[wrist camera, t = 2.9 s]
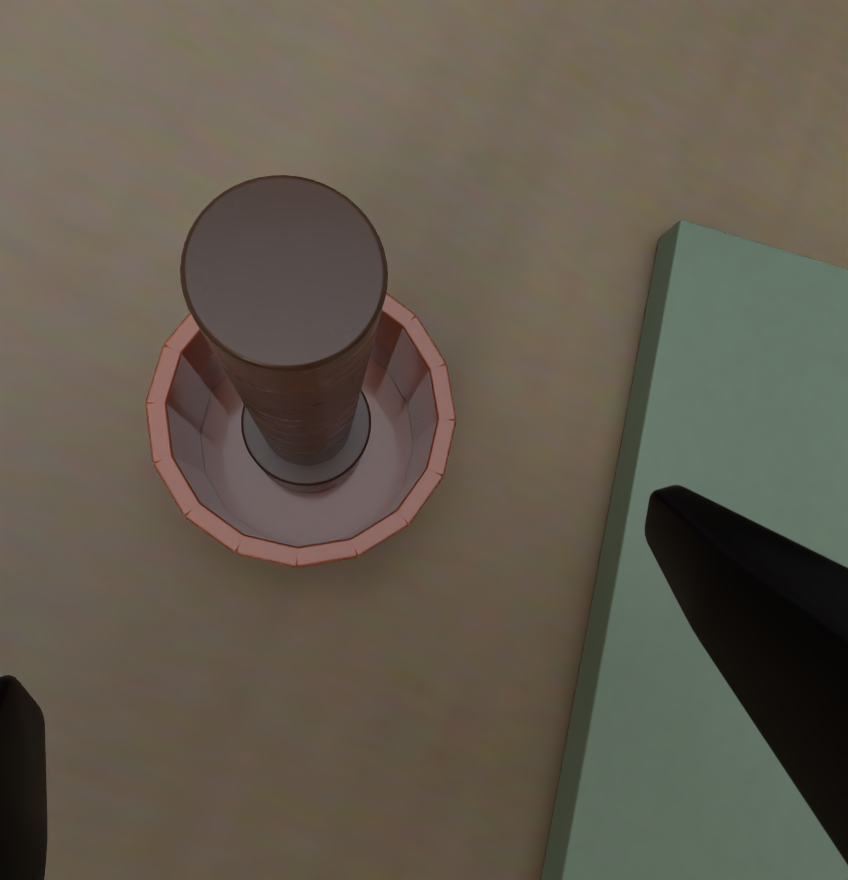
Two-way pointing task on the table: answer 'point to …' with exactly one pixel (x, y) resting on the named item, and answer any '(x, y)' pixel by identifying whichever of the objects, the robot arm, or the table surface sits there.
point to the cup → (285, 511)
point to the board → (650, 597)
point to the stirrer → (290, 320)
